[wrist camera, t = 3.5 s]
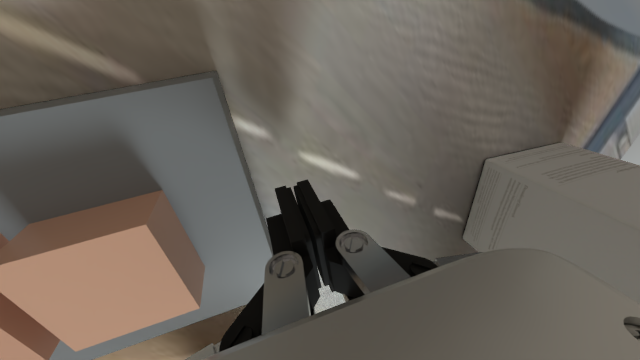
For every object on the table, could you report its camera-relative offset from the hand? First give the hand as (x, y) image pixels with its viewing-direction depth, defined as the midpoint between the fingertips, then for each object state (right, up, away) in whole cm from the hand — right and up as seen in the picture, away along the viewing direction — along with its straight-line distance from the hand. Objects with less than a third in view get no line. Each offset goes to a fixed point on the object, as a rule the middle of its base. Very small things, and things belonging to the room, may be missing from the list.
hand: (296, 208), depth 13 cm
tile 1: (-8, -2, -1) cm, 8 cm away
